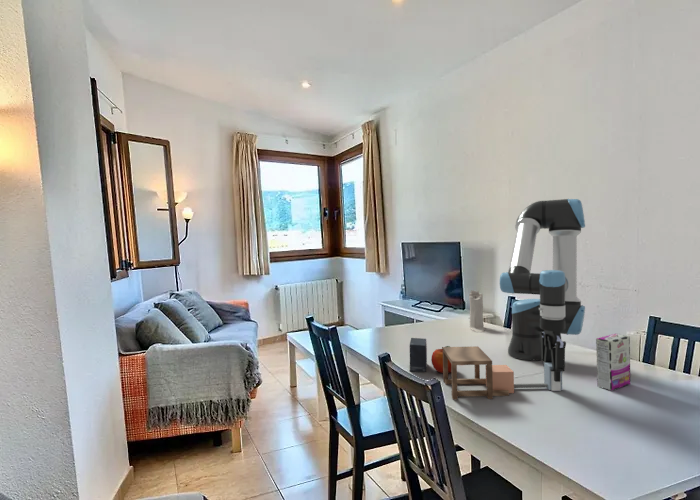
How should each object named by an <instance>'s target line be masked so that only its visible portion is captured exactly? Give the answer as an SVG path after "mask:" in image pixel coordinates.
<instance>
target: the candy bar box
mask: <svg viewBox="0 0 700 500" xmlns="http://www.w3.org/2000/svg"><path fill="white" fill-rule="evenodd" d="M595 340H596V342H595V344H596V378H597V379H596V381H597V382H596V383H597V387H598V386H600V387H603V388H602V389H604V388H605V389H604V390H607V389H608V390H607V391H610V390H611V392H612V390H613V391H615V389H616V390H618V389H621V388H623V387H626V386H628V385H631V384H632V383H631V344H630V343H631V341H630V340H631V338H630V335H626V334H621V333H612V334H609V335H605V336H602V337H601V336H600V337H597V338H596V339H595ZM600 387H599V388H600Z"/></svg>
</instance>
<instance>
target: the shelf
mask: <svg viewBox="0 0 700 500" xmlns="http://www.w3.org/2000/svg"><path fill="white" fill-rule="evenodd" d="M442 347H443V373H442V375H443V378H442V379H443V380H442V381H443V383H445V385H451V394H450V395H451V398H452V400H458V397H486V398H487V399H488V400H494V397H506V396H507V397H508V396H510V393H509V390H493V380H492V365H493V360H492V359H491V357H489V356H488V355H487V354H486V353H485V351H483V350H482V349H481V347H479V346H478V345H477V346H450V347H446V346H442ZM448 359H449V361H450V362H451V371H452V372H451V378H449V373H448ZM482 365H483V366H484V365H485V370H486V369H487V386H486V389H483V390H482V389H480V390H479V389H475V390H471V389H470V390H466V389H465V390H458V385H486V377H485V378H483V377H481V375H480V374H481V373H480V372H481V371H480V368H481V367H480V366H482ZM458 366H474V378H458Z"/></svg>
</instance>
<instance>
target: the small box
mask: <svg viewBox="0 0 700 500" xmlns="http://www.w3.org/2000/svg"><path fill="white" fill-rule="evenodd" d="M427 344H428V343H427V338H421V337H420V338H417V337H411V338H410V342H409V372H418V373H419V372H421V373H426V372H427V363H428V346H427Z"/></svg>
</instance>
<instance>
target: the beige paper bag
mask: <svg viewBox="0 0 700 500" xmlns="http://www.w3.org/2000/svg"><path fill="white" fill-rule="evenodd" d="M483 295H484V294H483V293H482V292H481V293H480V291H479V290H470V293H469V296H468V297H469V299H468V300H469V328H470V329H471V331H472V332H476V333H484V331H485V330H486V329H485V327H484V301H483Z"/></svg>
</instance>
